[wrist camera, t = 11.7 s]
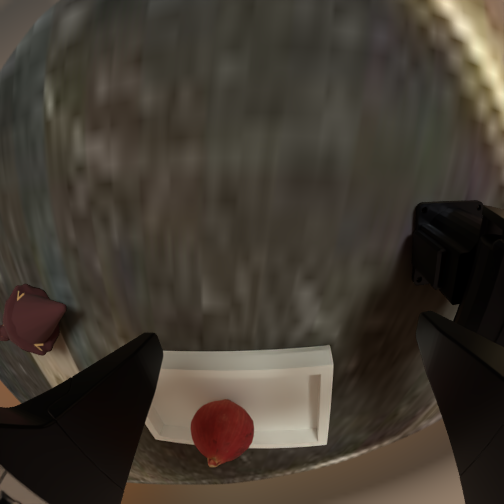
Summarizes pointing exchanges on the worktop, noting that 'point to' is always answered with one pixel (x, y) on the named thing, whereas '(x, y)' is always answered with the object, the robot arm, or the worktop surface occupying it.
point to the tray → (247, 393)
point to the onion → (222, 431)
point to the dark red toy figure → (31, 319)
